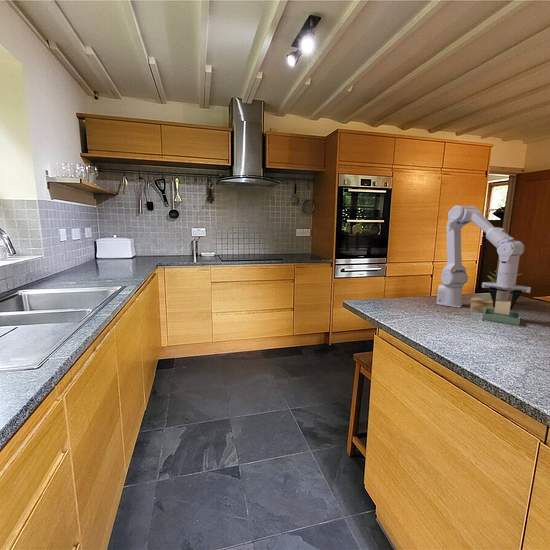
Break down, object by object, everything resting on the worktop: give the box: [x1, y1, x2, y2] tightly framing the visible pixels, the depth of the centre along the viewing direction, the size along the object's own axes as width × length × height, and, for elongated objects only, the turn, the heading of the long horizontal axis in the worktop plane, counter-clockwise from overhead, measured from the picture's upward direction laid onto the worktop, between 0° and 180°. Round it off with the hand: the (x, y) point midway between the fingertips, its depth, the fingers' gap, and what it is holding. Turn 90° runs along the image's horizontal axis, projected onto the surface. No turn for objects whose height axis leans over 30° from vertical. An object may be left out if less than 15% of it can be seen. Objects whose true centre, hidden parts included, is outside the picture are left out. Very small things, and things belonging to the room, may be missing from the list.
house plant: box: [487, 270, 521, 301], centre depth 139 cm, size 14×14×16 cm
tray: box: [481, 308, 521, 327], centre depth 114 cm, size 11×11×2 cm
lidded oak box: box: [469, 296, 495, 314], centre depth 125 cm, size 9×6×5 cm, turn 51°
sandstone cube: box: [494, 299, 512, 315], centre depth 114 cm, size 4×4×4 cm
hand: (502, 308), depth 114 cm, fingers closed on sandstone cube, 4 cm apart
